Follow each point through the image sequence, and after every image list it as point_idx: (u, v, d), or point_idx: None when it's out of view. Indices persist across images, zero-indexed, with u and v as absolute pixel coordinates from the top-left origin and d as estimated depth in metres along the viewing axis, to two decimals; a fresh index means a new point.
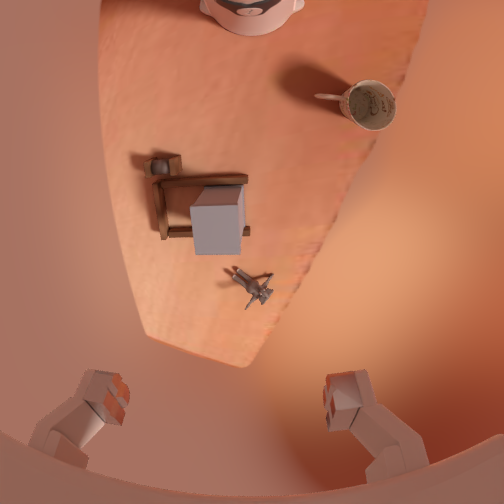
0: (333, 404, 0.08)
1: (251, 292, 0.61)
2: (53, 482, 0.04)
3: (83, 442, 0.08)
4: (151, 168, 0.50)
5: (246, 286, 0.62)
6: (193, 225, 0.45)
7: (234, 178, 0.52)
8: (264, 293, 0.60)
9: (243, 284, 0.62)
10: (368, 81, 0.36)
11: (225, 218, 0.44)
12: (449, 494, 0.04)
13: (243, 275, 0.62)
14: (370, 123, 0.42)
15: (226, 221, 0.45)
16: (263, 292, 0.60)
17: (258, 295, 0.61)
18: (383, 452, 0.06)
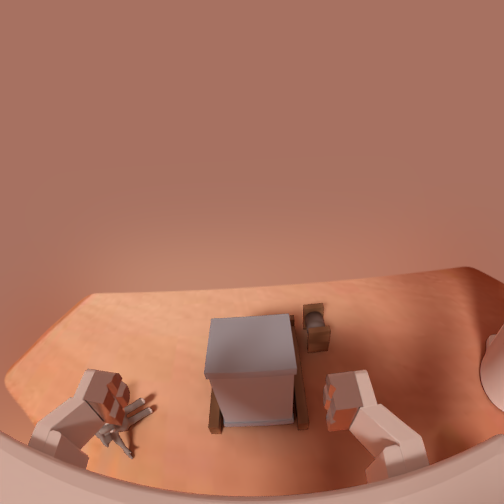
0: (333, 404, 0.08)
1: None
2: (53, 482, 0.04)
3: (83, 442, 0.08)
4: (314, 312, 0.43)
5: None
6: (259, 317, 0.31)
7: (305, 406, 0.31)
8: (107, 428, 0.26)
9: (126, 408, 0.31)
10: None
11: (272, 353, 0.26)
12: (450, 495, 0.04)
13: (140, 414, 0.31)
14: None
15: (266, 355, 0.26)
16: (109, 427, 0.26)
17: None
18: (383, 452, 0.06)
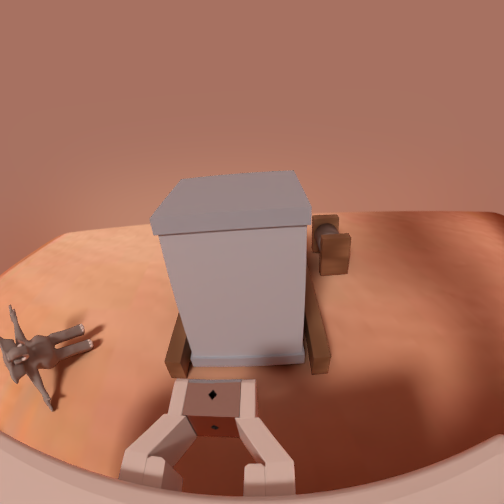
0: None
1: (33, 338, 0.18)
2: (53, 482, 0.04)
3: (172, 461, 0.08)
4: (327, 223, 0.33)
5: (50, 337, 0.20)
6: (250, 173, 0.21)
7: (323, 333, 0.21)
8: (16, 350, 0.15)
9: (56, 334, 0.20)
10: None
11: (267, 195, 0.16)
12: (449, 494, 0.04)
13: (74, 346, 0.21)
14: None
15: (258, 197, 0.16)
16: (19, 349, 0.15)
17: None
18: (245, 468, 0.06)
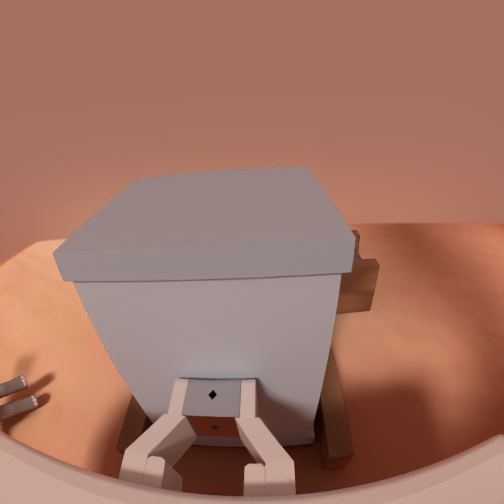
0: None
1: None
2: (53, 482, 0.04)
3: (172, 461, 0.08)
4: None
5: None
6: (239, 170, 0.13)
7: (343, 416, 0.13)
8: None
9: None
10: None
11: (266, 210, 0.09)
12: (449, 494, 0.04)
13: (16, 404, 0.12)
14: None
15: (248, 213, 0.08)
16: None
17: None
18: (245, 468, 0.06)
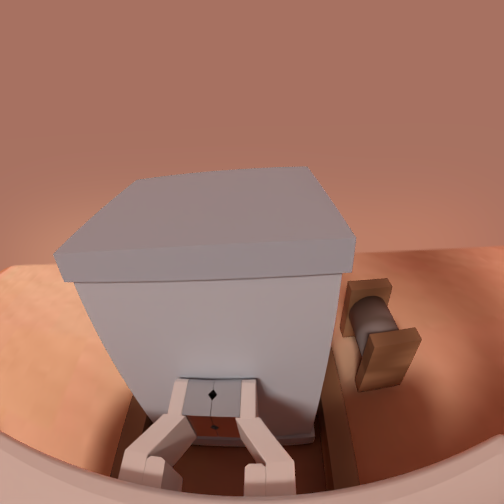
0: None
1: None
2: (53, 482, 0.04)
3: (172, 461, 0.08)
4: (373, 297, 0.18)
5: None
6: (239, 170, 0.13)
7: None
8: None
9: None
10: None
11: (266, 210, 0.09)
12: (450, 494, 0.04)
13: None
14: None
15: (248, 213, 0.08)
16: None
17: None
18: (245, 468, 0.06)
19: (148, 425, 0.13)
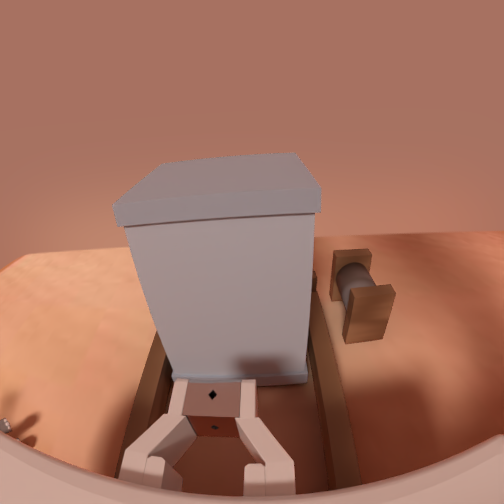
0: None
1: None
2: (53, 482, 0.04)
3: (172, 461, 0.08)
4: (355, 263, 0.22)
5: None
6: (243, 156, 0.17)
7: (355, 471, 0.10)
8: None
9: None
10: None
11: (263, 176, 0.12)
12: (450, 495, 0.04)
13: None
14: None
15: (251, 178, 0.12)
16: None
17: None
18: (245, 468, 0.06)
19: (165, 370, 0.17)
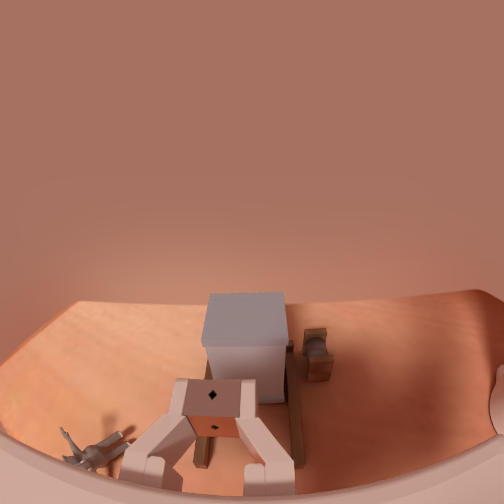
0: None
1: (87, 450, 0.22)
2: (53, 482, 0.04)
3: (172, 461, 0.08)
4: (316, 338, 0.38)
5: (99, 446, 0.23)
6: (255, 294, 0.33)
7: (302, 445, 0.26)
8: (82, 467, 0.19)
9: (103, 443, 0.24)
10: None
11: (266, 325, 0.28)
12: (449, 494, 0.04)
13: (118, 449, 0.25)
14: None
15: (260, 326, 0.28)
16: (84, 466, 0.19)
17: (79, 458, 0.21)
18: (245, 468, 0.06)
19: None
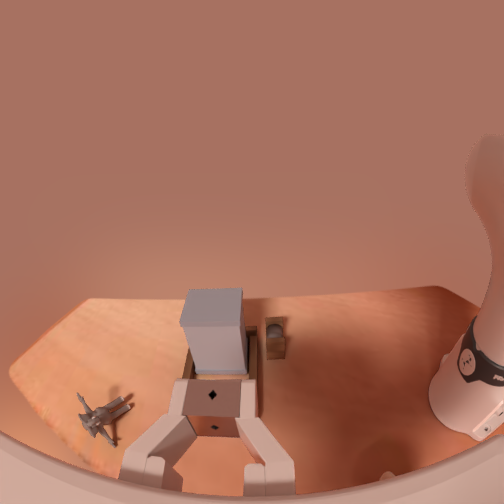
0: None
1: (97, 410, 0.34)
2: (53, 482, 0.04)
3: (172, 461, 0.08)
4: (274, 324, 0.49)
5: (105, 407, 0.35)
6: (221, 289, 0.44)
7: None
8: (93, 420, 0.30)
9: (109, 405, 0.36)
10: None
11: (225, 311, 0.40)
12: (449, 494, 0.04)
13: (120, 410, 0.36)
14: None
15: (221, 312, 0.40)
16: (95, 420, 0.31)
17: (91, 416, 0.32)
18: (245, 468, 0.06)
19: (192, 367, 0.44)
